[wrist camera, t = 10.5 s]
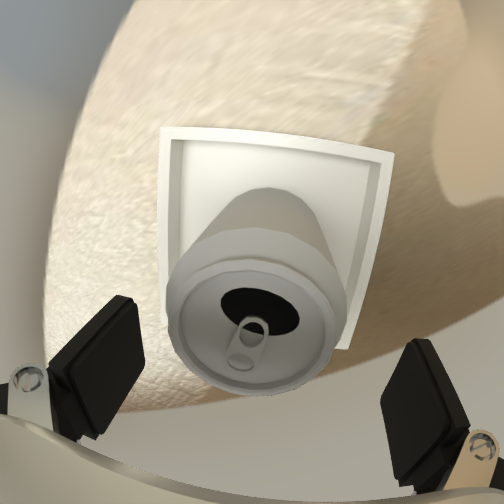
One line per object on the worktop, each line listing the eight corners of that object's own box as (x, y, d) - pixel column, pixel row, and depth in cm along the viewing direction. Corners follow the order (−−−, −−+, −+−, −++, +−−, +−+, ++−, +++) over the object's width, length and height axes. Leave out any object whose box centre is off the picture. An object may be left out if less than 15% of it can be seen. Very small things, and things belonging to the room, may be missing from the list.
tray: (380, 151, 19) (394, 153, 16) (342, 327, 24) (347, 349, 21) (176, 128, 20) (160, 126, 17) (173, 305, 25) (161, 324, 22)
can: (336, 208, 20) (394, 289, 9) (297, 297, 23) (302, 425, 12) (234, 170, 20) (170, 209, 9) (204, 265, 23) (140, 374, 11)
